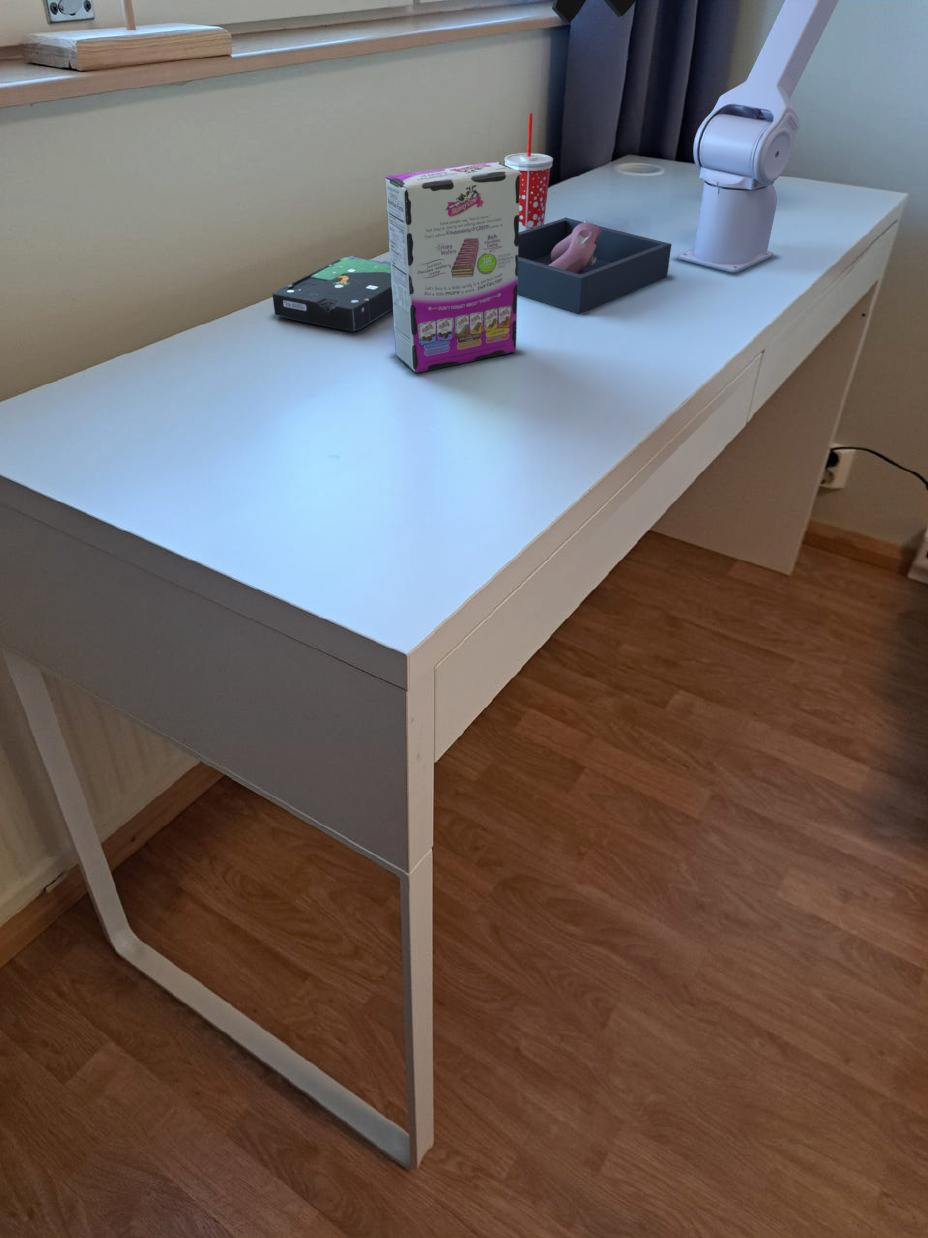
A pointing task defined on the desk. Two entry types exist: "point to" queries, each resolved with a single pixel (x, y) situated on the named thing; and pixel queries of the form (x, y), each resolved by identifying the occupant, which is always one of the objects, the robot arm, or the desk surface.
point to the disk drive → (339, 294)
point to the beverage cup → (531, 183)
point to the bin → (613, 275)
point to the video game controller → (576, 248)
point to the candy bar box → (454, 263)
